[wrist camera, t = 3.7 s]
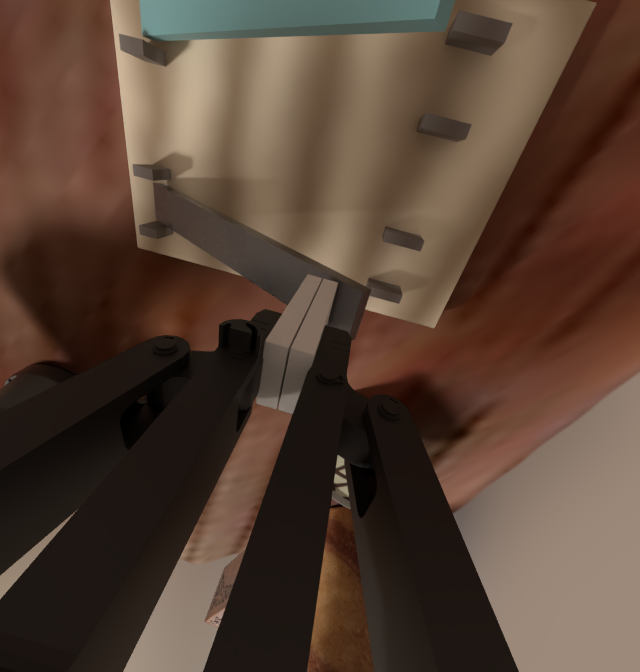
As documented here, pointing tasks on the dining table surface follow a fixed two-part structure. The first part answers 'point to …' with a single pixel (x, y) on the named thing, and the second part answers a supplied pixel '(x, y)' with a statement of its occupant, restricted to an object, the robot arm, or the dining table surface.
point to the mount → (346, 137)
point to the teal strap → (288, 18)
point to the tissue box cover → (223, 591)
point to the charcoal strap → (257, 255)
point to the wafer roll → (340, 604)
